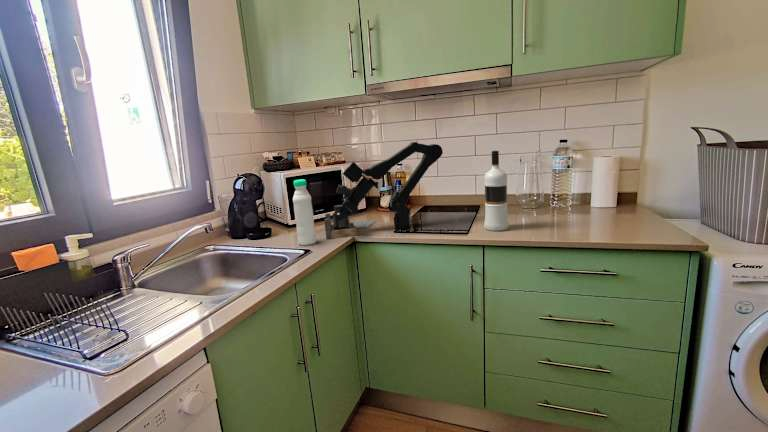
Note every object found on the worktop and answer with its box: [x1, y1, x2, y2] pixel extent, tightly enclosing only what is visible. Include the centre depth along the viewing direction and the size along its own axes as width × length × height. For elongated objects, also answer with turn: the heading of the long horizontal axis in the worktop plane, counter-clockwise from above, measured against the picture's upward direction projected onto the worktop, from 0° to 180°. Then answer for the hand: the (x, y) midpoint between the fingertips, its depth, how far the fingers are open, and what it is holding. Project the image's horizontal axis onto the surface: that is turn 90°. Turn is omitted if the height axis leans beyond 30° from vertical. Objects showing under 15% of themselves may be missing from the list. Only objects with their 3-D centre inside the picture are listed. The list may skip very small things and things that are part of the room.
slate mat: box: [349, 220, 377, 229], centre depth 170 cm, size 12×12×1 cm
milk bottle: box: [292, 178, 317, 246], centre depth 144 cm, size 7×7×25 cm
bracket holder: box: [323, 212, 358, 240], centre depth 156 cm, size 12×13×8 cm
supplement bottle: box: [331, 204, 351, 230], centre depth 156 cm, size 7×7×12 cm
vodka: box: [483, 150, 510, 232], centre depth 142 cm, size 9×9×30 cm
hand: (337, 218), depth 156 cm, fingers closed on supplement bottle, 7 cm apart
